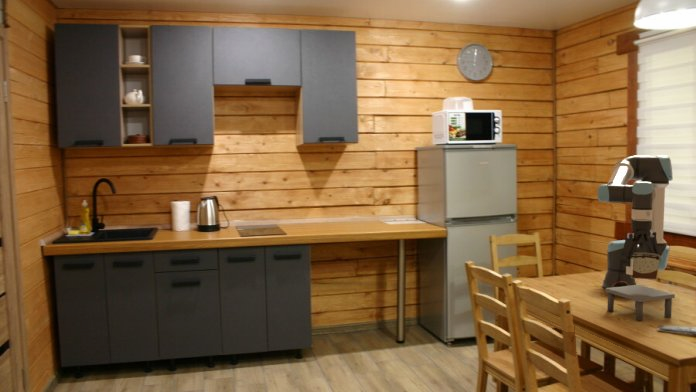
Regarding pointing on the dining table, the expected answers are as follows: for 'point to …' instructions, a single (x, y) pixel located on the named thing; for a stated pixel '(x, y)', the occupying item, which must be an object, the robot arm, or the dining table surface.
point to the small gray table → (640, 298)
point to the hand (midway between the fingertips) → (639, 273)
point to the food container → (645, 265)
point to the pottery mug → (620, 284)
